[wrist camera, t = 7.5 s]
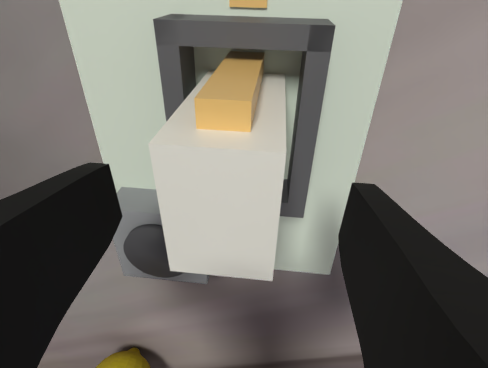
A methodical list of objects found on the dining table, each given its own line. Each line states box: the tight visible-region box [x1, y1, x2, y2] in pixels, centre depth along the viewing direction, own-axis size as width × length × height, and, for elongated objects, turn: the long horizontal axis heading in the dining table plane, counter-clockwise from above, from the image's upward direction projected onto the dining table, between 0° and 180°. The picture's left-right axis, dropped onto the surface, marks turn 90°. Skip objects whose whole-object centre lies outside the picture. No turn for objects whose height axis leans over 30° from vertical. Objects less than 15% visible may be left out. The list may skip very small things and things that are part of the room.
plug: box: [148, 51, 286, 281], centre depth 11 cm, size 5×3×7 cm, turn 179°
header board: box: [59, 0, 403, 284], centre depth 14 cm, size 16×13×3 cm
